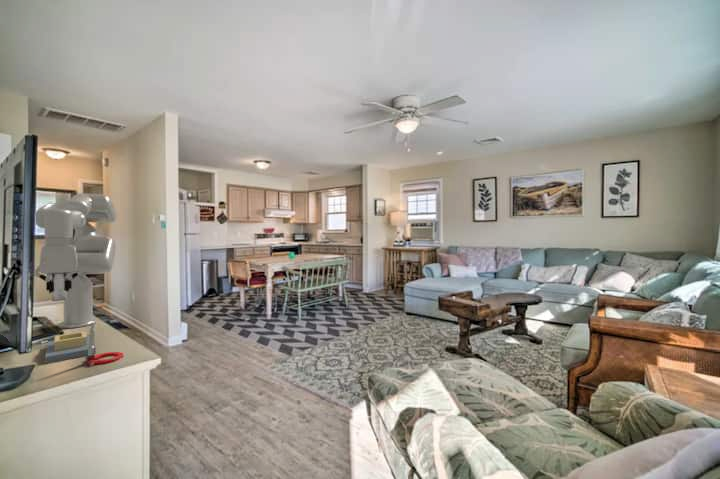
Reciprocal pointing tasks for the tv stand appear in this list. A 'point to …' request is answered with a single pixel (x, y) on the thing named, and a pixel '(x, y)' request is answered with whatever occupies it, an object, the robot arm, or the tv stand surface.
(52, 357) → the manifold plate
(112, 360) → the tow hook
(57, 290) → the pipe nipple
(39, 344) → the tv stand surface
